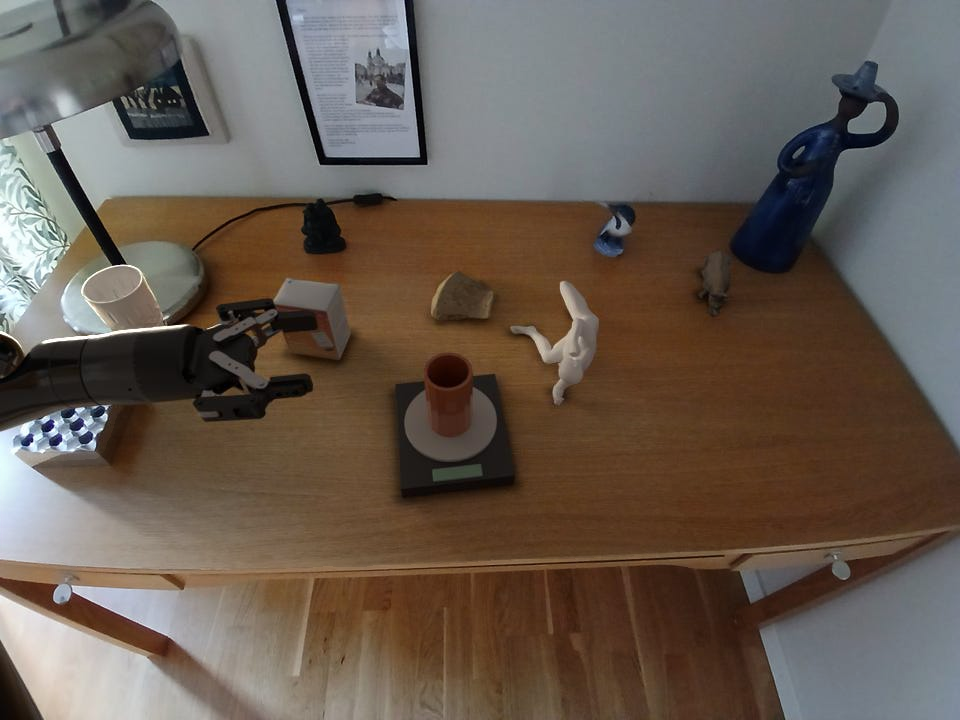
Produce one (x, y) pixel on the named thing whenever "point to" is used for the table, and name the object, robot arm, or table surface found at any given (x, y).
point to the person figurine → (568, 342)
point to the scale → (452, 444)
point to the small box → (328, 313)
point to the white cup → (123, 299)
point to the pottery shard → (462, 299)
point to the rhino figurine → (716, 280)
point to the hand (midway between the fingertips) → (314, 349)
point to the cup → (449, 393)
